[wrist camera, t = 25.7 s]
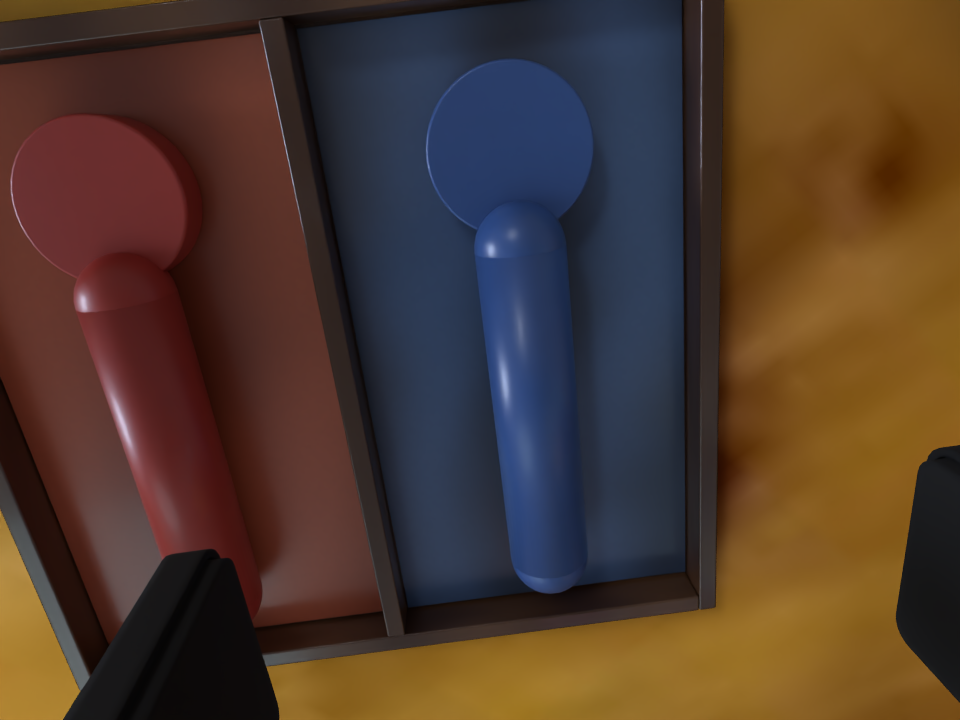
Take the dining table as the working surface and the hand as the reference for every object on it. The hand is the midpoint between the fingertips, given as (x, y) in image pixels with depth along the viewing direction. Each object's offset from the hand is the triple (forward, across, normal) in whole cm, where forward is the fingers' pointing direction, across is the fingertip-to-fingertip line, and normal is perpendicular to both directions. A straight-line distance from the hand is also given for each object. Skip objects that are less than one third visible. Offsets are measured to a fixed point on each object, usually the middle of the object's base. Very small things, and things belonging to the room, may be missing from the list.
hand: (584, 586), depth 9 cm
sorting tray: (+12, +5, +1) cm, 13 cm away
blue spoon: (+11, -1, +1) cm, 11 cm away
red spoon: (+12, +10, +1) cm, 15 cm away
